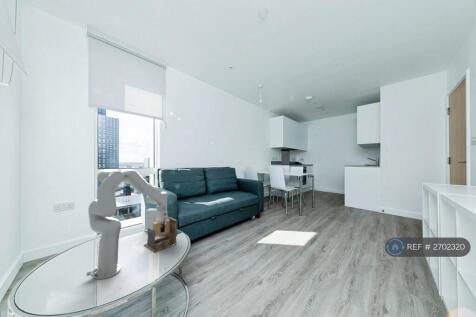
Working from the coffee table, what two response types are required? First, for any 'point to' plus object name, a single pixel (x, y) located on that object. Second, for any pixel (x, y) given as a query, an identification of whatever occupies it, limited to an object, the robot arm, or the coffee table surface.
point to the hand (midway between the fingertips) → (161, 231)
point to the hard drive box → (150, 218)
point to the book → (158, 228)
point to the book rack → (162, 238)
